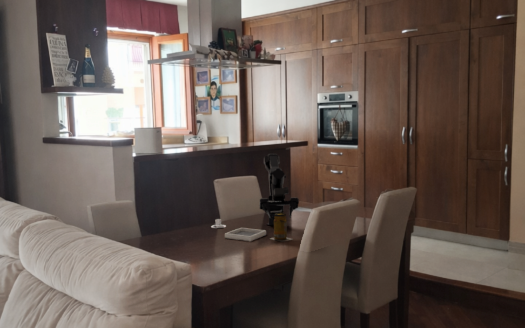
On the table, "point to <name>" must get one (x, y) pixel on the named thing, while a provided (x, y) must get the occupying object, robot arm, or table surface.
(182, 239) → the table surface
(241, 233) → the tray
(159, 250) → the table surface
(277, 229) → the condiment
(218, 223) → the white ring with post
